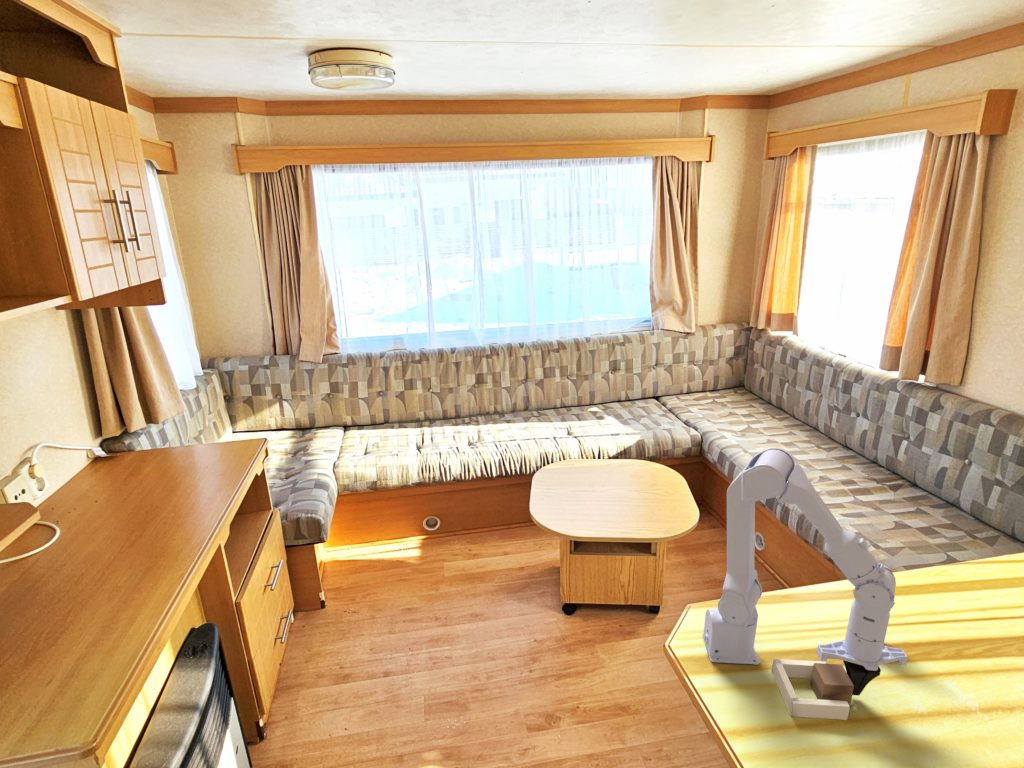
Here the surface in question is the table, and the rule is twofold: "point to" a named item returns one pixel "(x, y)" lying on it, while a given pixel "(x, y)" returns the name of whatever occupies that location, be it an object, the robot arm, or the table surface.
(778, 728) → the table surface
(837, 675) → the walnut cube
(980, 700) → the table surface
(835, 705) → the dock
